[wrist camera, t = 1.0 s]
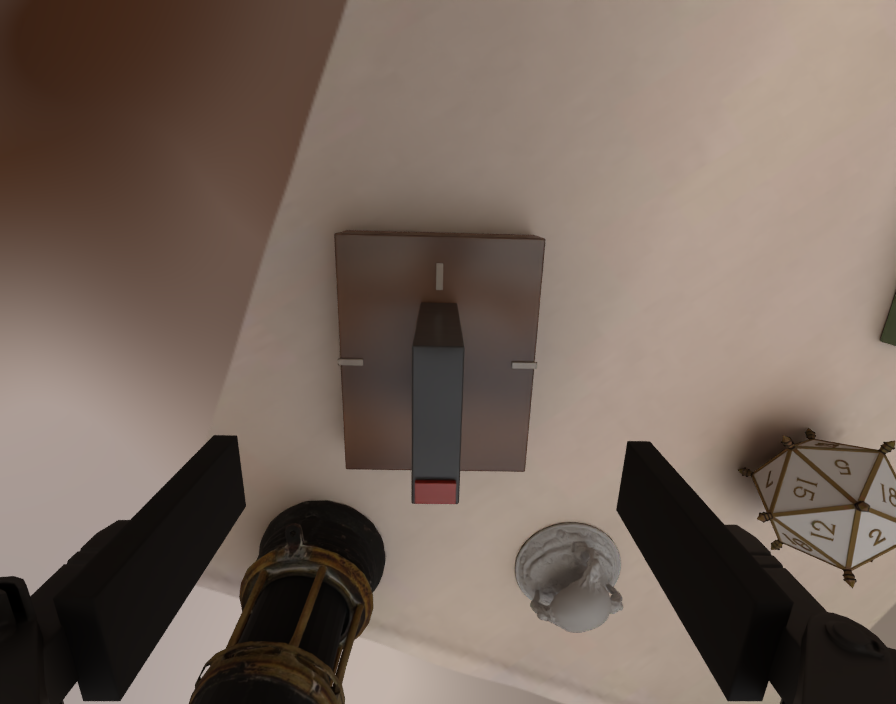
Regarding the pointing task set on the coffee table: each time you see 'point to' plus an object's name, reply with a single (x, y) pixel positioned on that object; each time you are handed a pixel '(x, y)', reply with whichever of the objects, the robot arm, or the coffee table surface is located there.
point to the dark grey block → (437, 404)
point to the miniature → (570, 576)
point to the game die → (830, 501)
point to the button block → (890, 326)
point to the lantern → (299, 610)
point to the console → (393, 327)
